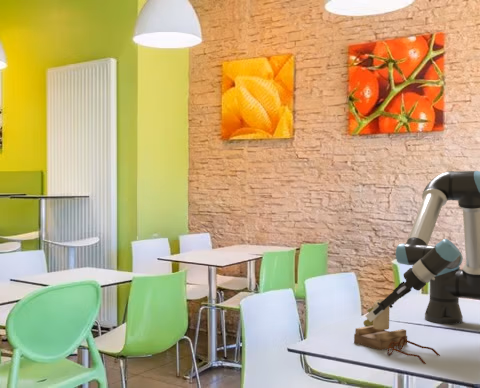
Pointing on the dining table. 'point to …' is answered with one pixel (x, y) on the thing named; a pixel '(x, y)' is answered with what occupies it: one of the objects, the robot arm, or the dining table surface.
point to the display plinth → (378, 337)
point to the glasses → (407, 353)
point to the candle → (381, 318)
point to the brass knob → (367, 322)
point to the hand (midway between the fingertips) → (370, 317)
